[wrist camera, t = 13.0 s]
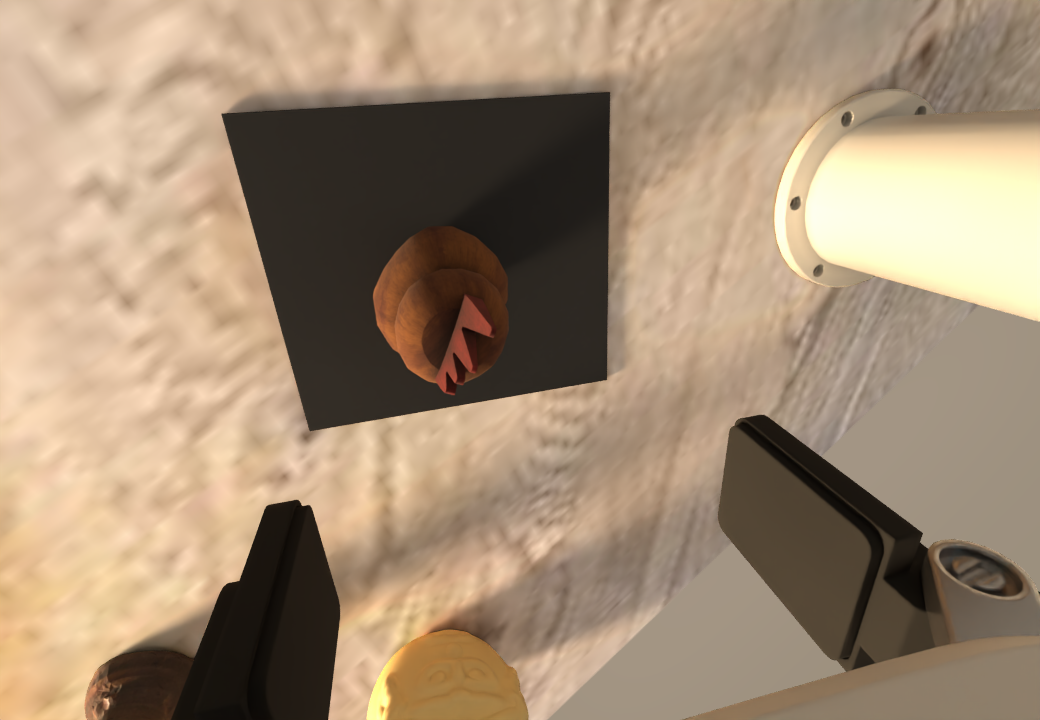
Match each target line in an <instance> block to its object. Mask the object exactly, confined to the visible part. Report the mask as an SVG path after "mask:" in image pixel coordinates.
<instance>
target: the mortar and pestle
mask: <svg viewBox="0 0 1040 720" xmlns="http://www.w3.org/2000/svg"><path fill="white" fill-rule="evenodd" d="M193 661H194V660H192V659H190V658H189V657H187V656H185V655H182V654H179V653H176V652H168V651H144V652H135V653H130V654H123V655H120V656H117V657H115V658H113V659H111V660H109V661H108V662H107V663H105V664H103V665H102V666H101V667H99V668H98V669H97V671H96V672H95V674H94V676H93V678H92V680H91V682H90V684H89V687H88V690H87V694H86V699H85V714H86V718H87V720H171V718H172V716H173V713H174V710H175V708H176V705H177V703H178V700H179V697H180V695H181V692H182V690H183V687H184V684H185V682H186V679H187V677H188V674H189V672H190V669H191V666H192V664H193Z"/></svg>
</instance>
